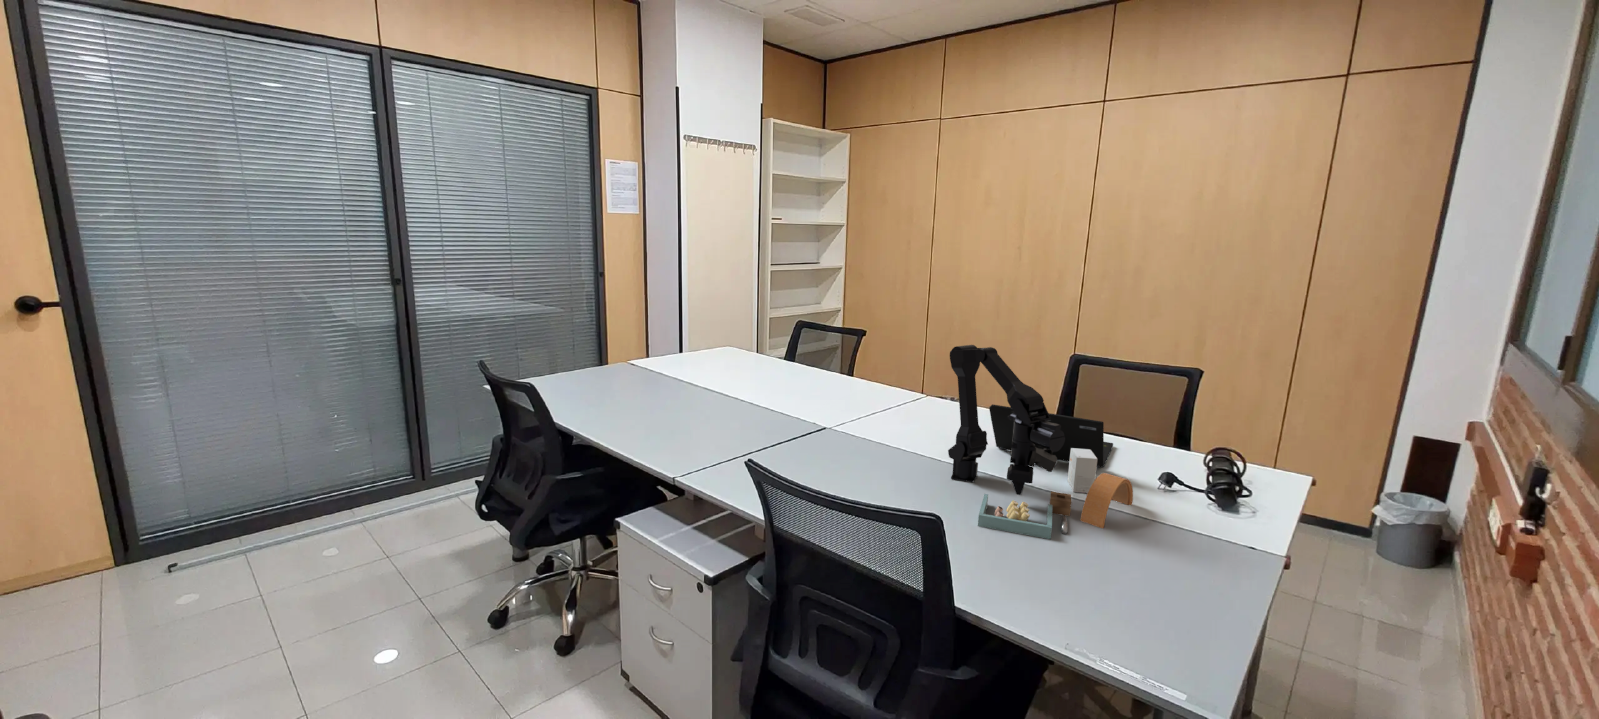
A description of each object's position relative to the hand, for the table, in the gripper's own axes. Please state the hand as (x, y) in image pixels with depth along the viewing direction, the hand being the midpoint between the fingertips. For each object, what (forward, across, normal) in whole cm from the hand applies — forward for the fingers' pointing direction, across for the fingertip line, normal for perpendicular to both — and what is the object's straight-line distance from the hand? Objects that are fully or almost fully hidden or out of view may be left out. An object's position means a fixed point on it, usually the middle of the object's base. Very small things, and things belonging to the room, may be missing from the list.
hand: (1018, 494), depth 170 cm
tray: (+3, -10, 0) cm, 10 cm away
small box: (+3, +19, -16) cm, 25 cm away
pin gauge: (+3, -9, -12) cm, 15 cm away
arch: (+3, +4, -22) cm, 23 cm away
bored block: (+3, +1, -10) cm, 11 cm away
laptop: (+4, +45, -8) cm, 46 cm away
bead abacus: (+3, -12, +1) cm, 12 cm away
